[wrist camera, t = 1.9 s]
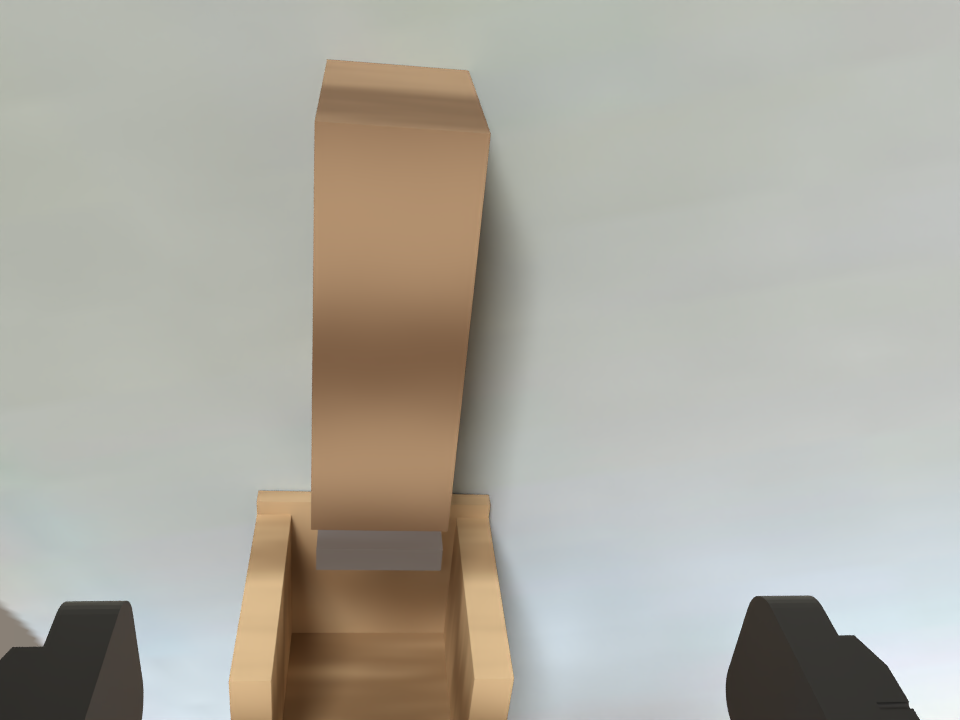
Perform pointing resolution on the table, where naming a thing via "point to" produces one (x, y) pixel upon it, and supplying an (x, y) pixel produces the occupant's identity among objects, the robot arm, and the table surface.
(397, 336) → the light brown wooden block
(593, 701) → the table surface
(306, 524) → the wooden chair
